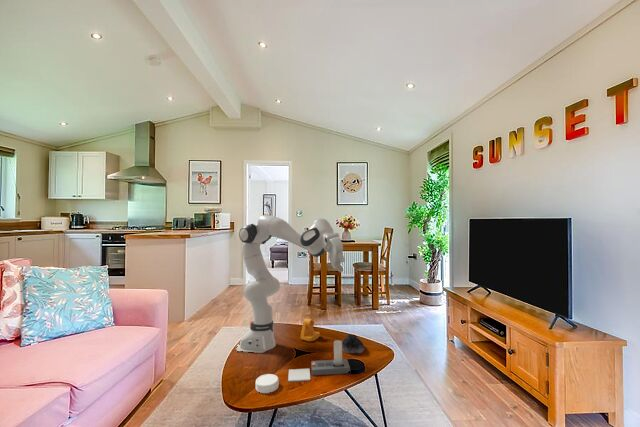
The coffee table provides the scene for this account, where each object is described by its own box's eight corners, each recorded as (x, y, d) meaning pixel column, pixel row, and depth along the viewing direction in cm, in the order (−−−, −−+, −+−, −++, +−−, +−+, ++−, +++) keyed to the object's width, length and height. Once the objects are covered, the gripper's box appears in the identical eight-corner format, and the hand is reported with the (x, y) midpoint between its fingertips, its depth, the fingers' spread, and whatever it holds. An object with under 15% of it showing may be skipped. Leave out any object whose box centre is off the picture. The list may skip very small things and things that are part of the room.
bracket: (310, 342, 174) (309, 322, 174) (300, 340, 178) (300, 320, 178) (320, 337, 183) (320, 317, 183) (311, 334, 187) (310, 315, 187)
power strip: (312, 375, 136) (311, 368, 136) (311, 366, 145) (311, 359, 145) (350, 373, 137) (350, 366, 137) (347, 364, 146) (346, 357, 146)
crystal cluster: (355, 344, 172) (352, 327, 173) (370, 350, 161) (368, 331, 162) (337, 351, 165) (334, 333, 166) (352, 358, 154) (349, 339, 154)
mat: (288, 381, 131) (288, 380, 131) (288, 370, 141) (288, 369, 141) (310, 380, 131) (310, 379, 131) (309, 369, 141) (309, 368, 141)
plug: (333, 372, 138) (332, 344, 139) (332, 366, 144) (331, 339, 144) (345, 371, 139) (344, 343, 139) (343, 366, 144) (342, 339, 145)
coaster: (277, 393, 122) (277, 384, 122) (253, 394, 122) (253, 386, 122) (279, 380, 132) (279, 372, 132) (257, 382, 132) (257, 374, 132)
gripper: (324, 257, 155) (334, 278, 147) (326, 234, 140) (338, 257, 132) (335, 253, 157) (346, 275, 149) (338, 230, 141) (350, 253, 133)
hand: (342, 266), depth 140 cm, fingers open, 8 cm apart
